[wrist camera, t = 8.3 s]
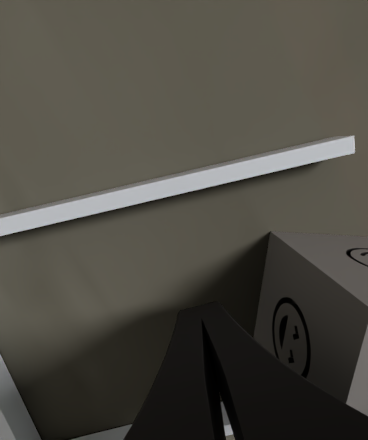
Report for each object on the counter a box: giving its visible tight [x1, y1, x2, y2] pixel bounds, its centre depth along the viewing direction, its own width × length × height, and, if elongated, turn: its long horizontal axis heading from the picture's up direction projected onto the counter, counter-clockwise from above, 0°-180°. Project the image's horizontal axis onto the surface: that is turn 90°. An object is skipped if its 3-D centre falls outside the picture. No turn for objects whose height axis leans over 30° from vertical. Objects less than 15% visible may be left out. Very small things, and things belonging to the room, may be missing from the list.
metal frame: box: [0, 136, 355, 440], centre depth 10 cm, size 10×14×1 cm
